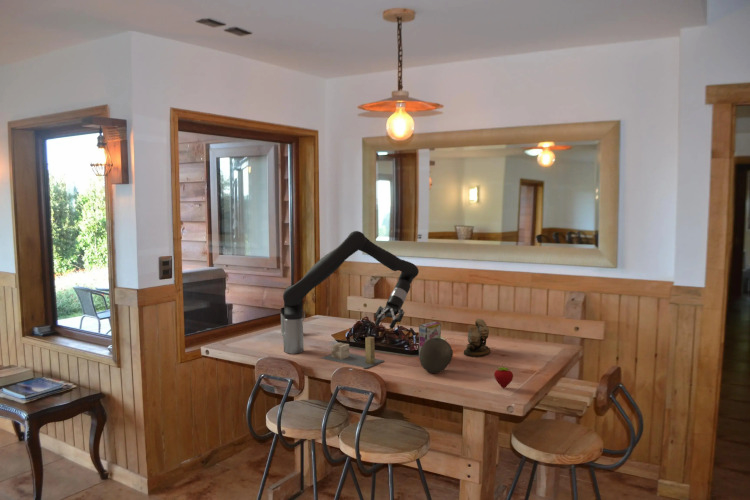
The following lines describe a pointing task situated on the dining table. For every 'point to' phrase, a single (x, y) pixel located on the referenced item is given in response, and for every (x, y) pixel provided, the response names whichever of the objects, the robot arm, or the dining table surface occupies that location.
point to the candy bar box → (428, 332)
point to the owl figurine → (477, 340)
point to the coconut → (435, 355)
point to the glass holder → (283, 321)
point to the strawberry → (503, 376)
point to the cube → (340, 350)
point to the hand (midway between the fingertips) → (383, 326)
